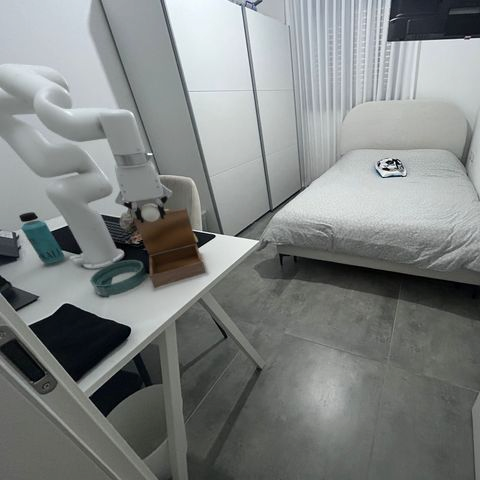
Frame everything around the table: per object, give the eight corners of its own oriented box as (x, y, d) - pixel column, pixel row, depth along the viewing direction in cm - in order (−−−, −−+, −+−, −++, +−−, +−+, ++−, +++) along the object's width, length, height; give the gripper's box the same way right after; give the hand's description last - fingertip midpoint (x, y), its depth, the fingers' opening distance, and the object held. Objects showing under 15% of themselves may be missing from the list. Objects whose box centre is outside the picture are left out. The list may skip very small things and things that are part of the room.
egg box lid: (186, 209, 88) (184, 201, 91) (132, 219, 81) (132, 211, 84) (196, 243, 98) (193, 235, 101) (149, 254, 91) (147, 246, 94)
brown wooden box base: (206, 274, 90) (202, 261, 87) (155, 289, 83) (149, 276, 80) (199, 255, 101) (196, 243, 98) (154, 267, 94) (149, 255, 91)
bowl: (93, 303, 78) (86, 291, 76) (99, 278, 89) (94, 268, 86) (147, 287, 84) (142, 276, 82) (147, 266, 95) (143, 255, 93)
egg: (162, 222, 78) (157, 207, 76) (144, 225, 76) (138, 210, 74) (161, 214, 84) (156, 200, 81) (144, 217, 82) (138, 203, 79)
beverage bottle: (53, 258, 101) (24, 210, 91) (71, 257, 101) (44, 209, 91) (39, 267, 95) (6, 218, 85) (58, 266, 95) (27, 217, 86)
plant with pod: (139, 233, 118) (123, 191, 109) (152, 239, 113) (135, 195, 103) (120, 240, 112) (100, 196, 103) (132, 247, 107) (112, 202, 97)
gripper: (165, 154, 78) (181, 210, 87) (95, 160, 70) (120, 221, 79) (167, 158, 72) (184, 217, 81) (91, 166, 64) (119, 230, 73)
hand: (152, 218), depth 80 cm, fingers closed on egg, 4 cm apart
